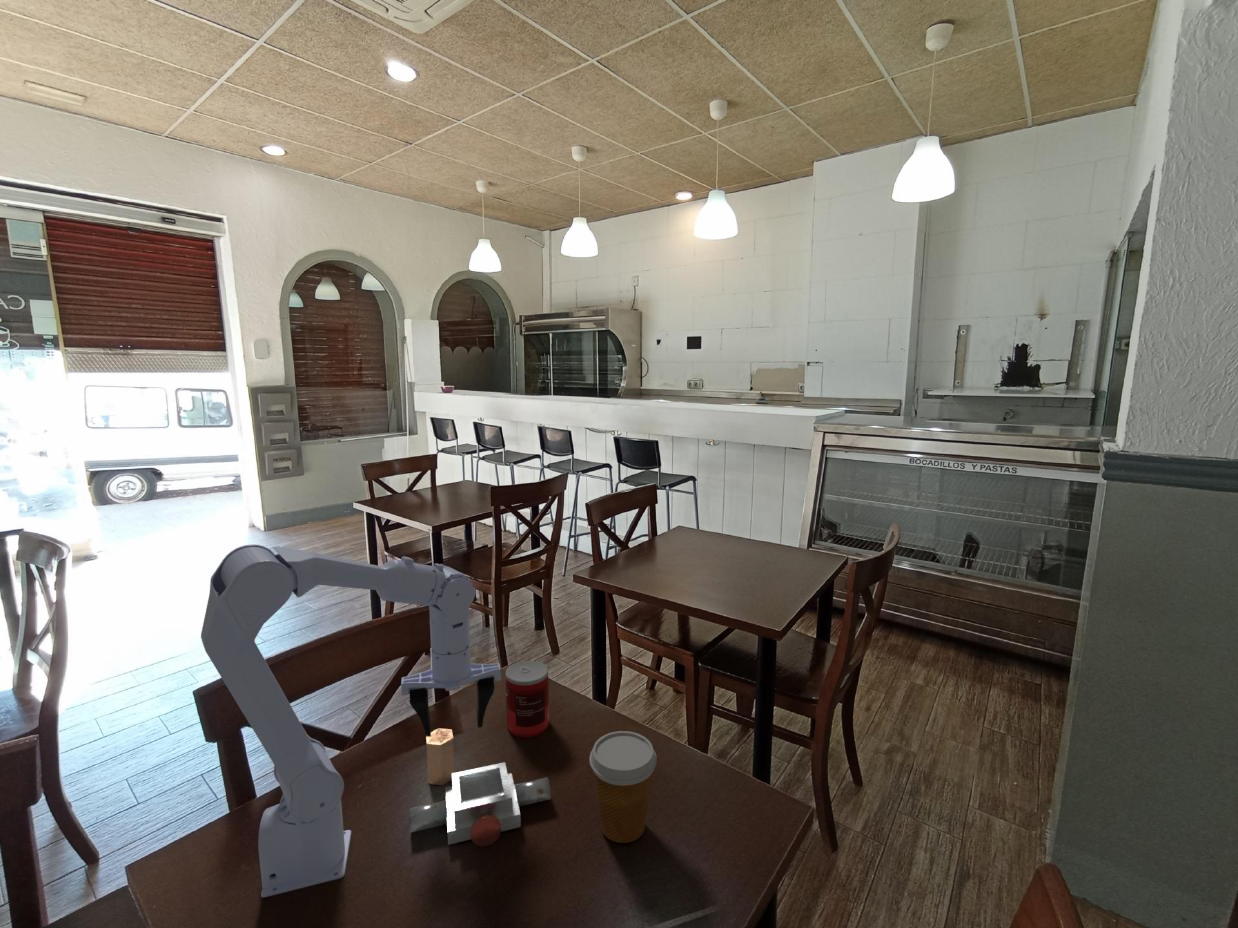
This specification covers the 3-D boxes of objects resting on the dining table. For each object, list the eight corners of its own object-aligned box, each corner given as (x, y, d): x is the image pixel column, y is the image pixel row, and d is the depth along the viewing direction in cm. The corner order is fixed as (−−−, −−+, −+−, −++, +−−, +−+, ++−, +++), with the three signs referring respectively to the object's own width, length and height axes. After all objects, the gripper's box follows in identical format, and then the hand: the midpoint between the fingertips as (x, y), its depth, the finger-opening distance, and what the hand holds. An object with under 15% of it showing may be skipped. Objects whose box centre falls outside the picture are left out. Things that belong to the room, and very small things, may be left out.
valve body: (409, 868, 74) (407, 838, 73) (411, 807, 85) (409, 779, 84) (558, 830, 80) (558, 801, 80) (543, 777, 91) (542, 751, 90)
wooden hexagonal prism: (429, 788, 89) (427, 747, 88) (427, 769, 93) (425, 730, 92) (455, 781, 90) (453, 741, 89) (452, 763, 94) (451, 725, 93)
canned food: (527, 708, 110) (526, 656, 108) (558, 723, 105) (557, 668, 104) (497, 728, 104) (495, 672, 102) (528, 744, 99) (527, 686, 98)
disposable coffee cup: (579, 841, 78) (578, 762, 77) (604, 794, 87) (604, 723, 85) (644, 861, 75) (645, 779, 73) (663, 810, 84) (664, 736, 82)
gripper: (397, 665, 80) (403, 753, 82) (501, 651, 84) (504, 734, 86) (401, 643, 86) (405, 725, 88) (497, 631, 91) (499, 709, 93)
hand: (454, 728), depth 88 cm, fingers open, 7 cm apart
